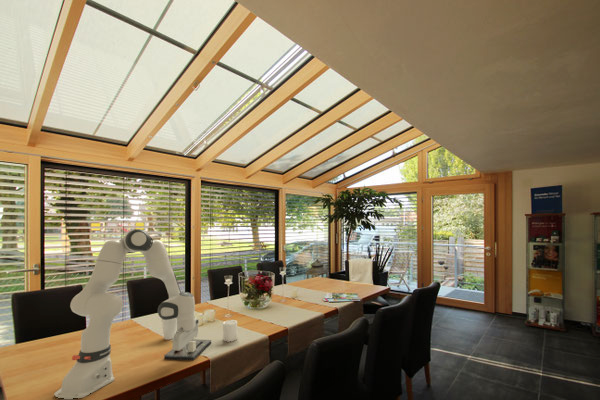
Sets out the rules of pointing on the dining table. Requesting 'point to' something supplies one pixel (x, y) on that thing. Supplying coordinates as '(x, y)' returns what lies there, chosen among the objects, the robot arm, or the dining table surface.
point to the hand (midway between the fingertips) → (185, 352)
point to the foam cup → (169, 328)
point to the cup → (230, 330)
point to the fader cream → (192, 346)
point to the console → (179, 355)
